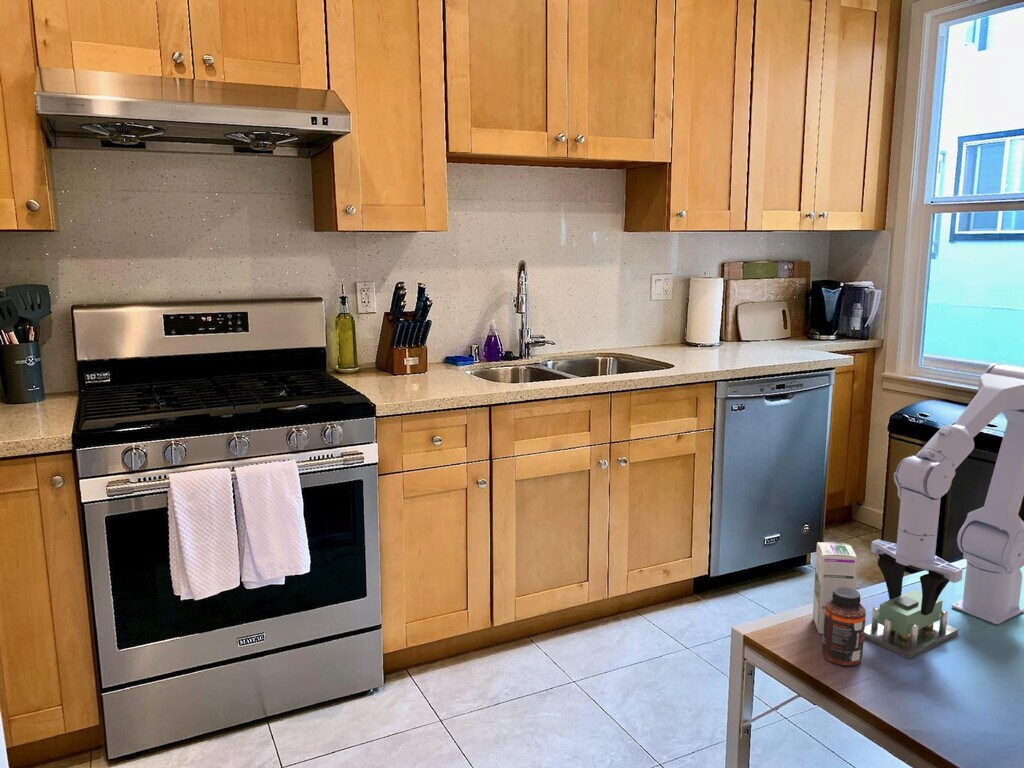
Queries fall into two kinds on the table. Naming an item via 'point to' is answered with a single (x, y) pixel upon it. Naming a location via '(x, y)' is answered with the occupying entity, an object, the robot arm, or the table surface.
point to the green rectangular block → (908, 612)
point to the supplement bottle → (844, 627)
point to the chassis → (909, 635)
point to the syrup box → (831, 575)
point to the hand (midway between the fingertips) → (910, 606)
